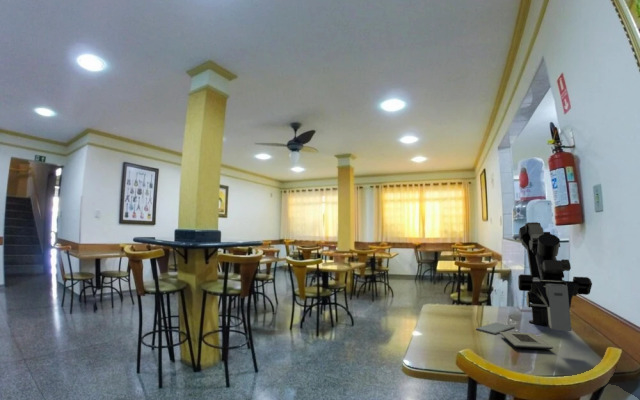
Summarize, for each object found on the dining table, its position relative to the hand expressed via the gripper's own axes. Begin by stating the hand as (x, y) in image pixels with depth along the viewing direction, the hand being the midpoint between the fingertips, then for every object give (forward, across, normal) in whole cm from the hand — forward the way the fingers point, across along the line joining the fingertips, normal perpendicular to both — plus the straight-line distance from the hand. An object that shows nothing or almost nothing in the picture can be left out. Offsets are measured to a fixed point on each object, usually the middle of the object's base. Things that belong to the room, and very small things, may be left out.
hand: (558, 307), depth 94 cm
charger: (+4, 0, +6) cm, 7 cm away
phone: (-3, -17, +23) cm, 29 cm away
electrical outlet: (+7, -9, +13) cm, 17 cm away
